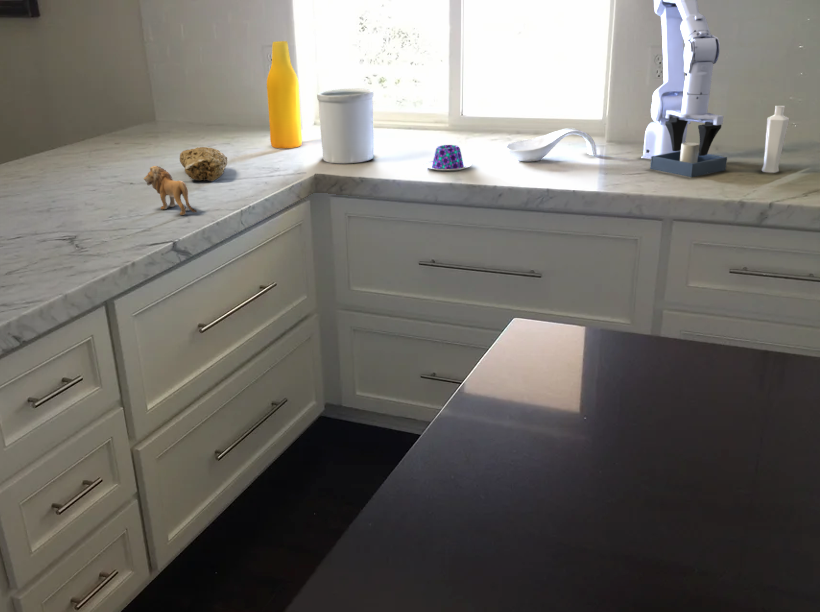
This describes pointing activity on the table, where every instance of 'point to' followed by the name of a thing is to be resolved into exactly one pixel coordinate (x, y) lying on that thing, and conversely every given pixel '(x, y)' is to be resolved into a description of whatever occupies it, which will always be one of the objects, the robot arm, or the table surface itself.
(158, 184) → the lion figurine
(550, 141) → the spoon rest
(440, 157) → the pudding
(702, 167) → the bin
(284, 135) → the beer bottle
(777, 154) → the perfume bottle
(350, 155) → the utensil holder
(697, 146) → the cream cylinder
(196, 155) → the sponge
